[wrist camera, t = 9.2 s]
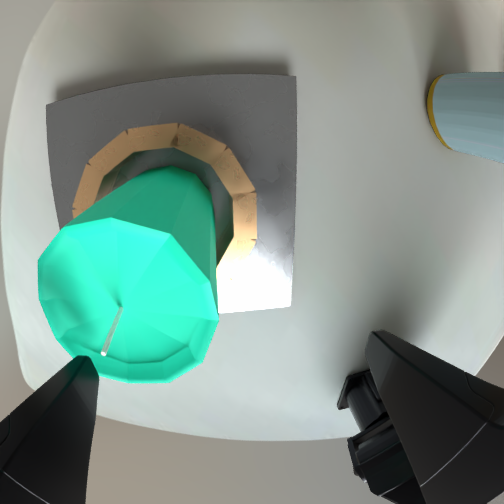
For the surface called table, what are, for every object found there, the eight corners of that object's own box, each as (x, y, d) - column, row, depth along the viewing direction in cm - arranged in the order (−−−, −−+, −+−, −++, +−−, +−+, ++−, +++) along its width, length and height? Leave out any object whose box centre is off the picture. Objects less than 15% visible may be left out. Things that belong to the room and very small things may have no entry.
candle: (180, 274, 19) (157, 437, 8) (105, 224, 17) (1, 352, 6) (235, 202, 17) (274, 335, 6) (155, 145, 15) (40, 184, 4)
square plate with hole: (285, 295, 22) (301, 330, 18) (91, 308, 20) (74, 343, 16) (289, 80, 16) (313, 66, 12) (56, 105, 14) (21, 103, 10)
